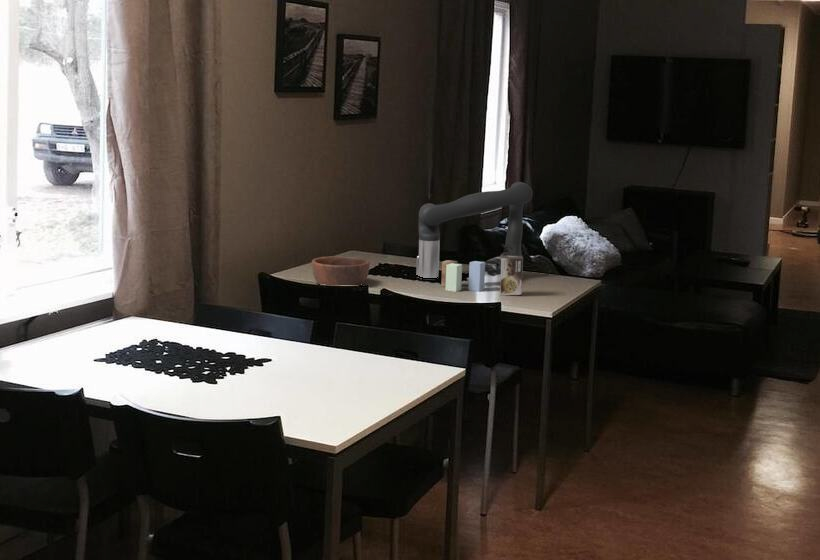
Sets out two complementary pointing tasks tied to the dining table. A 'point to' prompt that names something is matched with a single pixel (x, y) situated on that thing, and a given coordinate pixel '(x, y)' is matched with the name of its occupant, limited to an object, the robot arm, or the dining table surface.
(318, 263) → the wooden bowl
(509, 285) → the coffee box
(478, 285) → the slate block
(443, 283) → the walnut block
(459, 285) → the sage block
